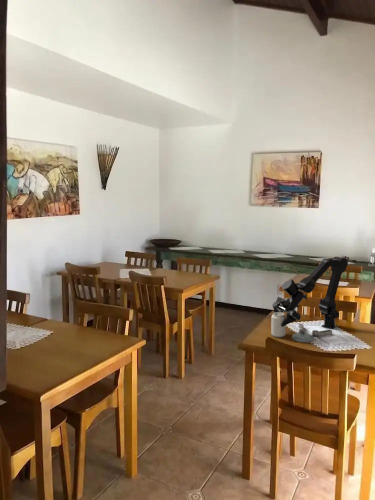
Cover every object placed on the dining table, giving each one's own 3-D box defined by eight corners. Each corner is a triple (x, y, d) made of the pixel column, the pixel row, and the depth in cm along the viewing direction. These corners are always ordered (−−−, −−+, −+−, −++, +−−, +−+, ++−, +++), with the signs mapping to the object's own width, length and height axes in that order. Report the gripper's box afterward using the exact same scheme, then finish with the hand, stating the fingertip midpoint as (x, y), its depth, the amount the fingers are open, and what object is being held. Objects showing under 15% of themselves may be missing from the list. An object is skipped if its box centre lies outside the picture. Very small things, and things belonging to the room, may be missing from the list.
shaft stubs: (299, 326, 228) (299, 321, 228) (333, 334, 216) (333, 328, 215) (290, 331, 221) (290, 326, 220) (324, 339, 208) (324, 334, 208)
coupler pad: (298, 333, 218) (298, 331, 218) (317, 337, 211) (317, 335, 211) (288, 338, 210) (288, 337, 210) (308, 344, 203) (308, 342, 203)
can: (275, 332, 221) (275, 310, 219) (288, 334, 216) (288, 313, 215) (268, 335, 215) (268, 313, 214) (281, 339, 211) (282, 316, 209)
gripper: (275, 287, 222) (257, 309, 220) (296, 295, 205) (277, 319, 203) (287, 300, 226) (270, 321, 224) (309, 308, 209) (290, 332, 207)
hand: (276, 323), depth 214 cm, fingers open, 9 cm apart
